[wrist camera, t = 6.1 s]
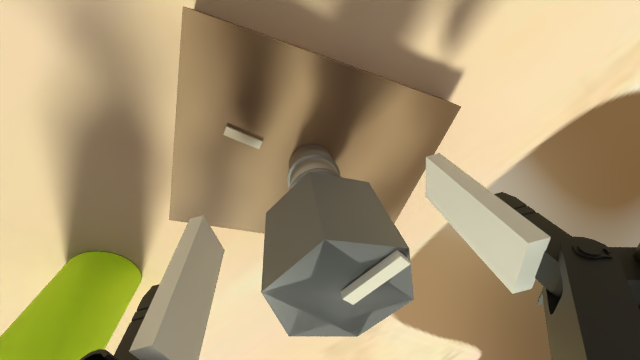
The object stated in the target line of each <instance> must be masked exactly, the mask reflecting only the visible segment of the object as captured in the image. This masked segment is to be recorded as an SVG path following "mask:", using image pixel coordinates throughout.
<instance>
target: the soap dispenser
mask: <svg viewBox="0 0 640 360" xmlns="http://www.w3.org/2000/svg"><path fill="white" fill-rule="evenodd" d="M140 282H141V273H140V271H139V269H138V268H137V267H136V266H135V265H134V264H133V263H132V262H131V261H129V260H128V259H126V258H124V257H122V256H119V255H116V254H113V253H108V252H99V251H93V252H85V253H81V254H78V255H76V256H74V257H73V258H71V259H70V260H69V261H68V262H67V263H66V265H65V266H64V267H63V268H62V269H61V270H60V271H59V272H58V273H57V275H56V276H55V277H54V278H53V279H52V280H51V281H50V282H49V283H48V285H47V286H46V287H45V288H44V289H43V290H42V291H41V292H40V293H39V295H38V296H37V297H36V298H35V299H34V300H33V301H32V302H31V303H30V305H29V306H28V307H27V308H26V309H25V310H24V311H23V312H22V313H21V315H20V316H19V317H18V318H17V319H16V320H15V321H14V322H13V323H12V324H11V326H10V327H9V328H8V329H7V330H6V331H5V332H4V333H3V334H2V336H1V337H0V360H80V359H81V358H82V357H84V356H85V355H87V354H88V353H90V352H92V351H95V350H98V349H103V350H104V349H105V347H106V345H107V343H108V342H109V340H110V338H111V336H112V334H113V332H114V331H115V329H116V327H117V325H118V323H119V321H120V319H121V318H122V316H123V314H124V312H125V310H126V308H127V306H128V305H129V303H130V301H131V299H132V297H133V295H134V294H135V292H136V290H137V288H138V286H139V284H140Z"/></svg>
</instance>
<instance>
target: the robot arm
mask: <svg viewBox="0 0 640 360" xmlns="http://www.w3.org/2000/svg"><path fill="white" fill-rule="evenodd" d="M426 198H427V199H428V200H429V201H430V202H431V203H432V204H433V205H434V207H435V208H436V209H437V210H438V211H439V212H440V213H441V214H442V216H443V217H444V218H445V219H446V220H447V221H448V222H449V223H450V224H451V226H452V227H453V228H454V229H455V230H456V231H457V232H458V233H459V234H460V235H461V237H462V238H463V239H464V240H465V241H466V242H467V243H468V244H469V246H470V247H471V248H472V249H473V250H474V251H475V252H476V253H477V255H478V256H479V257H480V258H481V259H482V260H483V261H484V262H485V263H486V265H488V267H489V268H490V269H491V270H492V271H493V272H494V273H495V275H496V276H497V277H498V278H499V279H500V280H501V281H502V282H503V284H504V285H505V286H506V287H507V288H508V289H509V290H510V291H511V292H512V293H517V292H521V291H524V290H528V289H531V288H532V287H533V284H534V281H535V278H536V279H537V280H538V281H539V282H540V283H541V284H542V285H543V286H544V287H543V289H542V292H541V294H540V296H539V299H538V305H541V304H542V302H544V309H545V317H546V324H547V332H548V339H549V346H550V353H551V360H640V244H639V245H638V247H637V248H636V247H635V248H634V247H632V248H630V247H607V246H606V245H604V244H602V243H600V242H597V241H595V240H592V239H588V238H584V237H572V236H570V235H569V234H567V233H566V232H565V231H563V230H562V229H560V228H559V227H557V226H556V225H554V224H553V223H552V222H550V221H549V220H547V219H546V218H544V217H543V216H541V215H540V214H539V213H536V212H535V211H534V210H533V209H532V208H530V207H529V206H528V207H527V206H526V204H524V203H523V202H521V201H520V200H519V199H517V198H516V197H513V196H511V195H508V194H506V193H503V192H501V193H497V194H493V193H492V192H490V191H489V190H488V189H486V188H485V187H484V186H482V185H481V184H480V183H478V182H477V181H476V180H474V179H473V178H472V177H470V176H469V175H468V174H466V173H465V172H464V171H462V170H461V169H460V168H458V167H457V166H456V165H454V164H453V163H452V162H450V161H449V160H448V159H446V158H445V157H444V156H443V155H441V154H440V153H438V154H434V155H431V156H427V157H426ZM223 254H224V249H223V247H222V245H221V244H220V242H219V240H218V239H217V237H216V235H215V233H214V232H213V230H212V228H211V227H210V225H209V223H208V222H207V220H206V218H205V217H204V215H203V216H199V217H195V218H191V219H190V220H189V222H188V224H187V226H186V228H185V230H184V233H183V235H182V237H181V239H180V241H179V244H178V246H177V248H176V250H175V252H174V254H173V257H172V259H171V261H170V263H169V265H168V267H167V270H166V272H165V274H164V276H163V278H162V280H161V283H160V284H159V285H155V286H152V287H151V289H150V290H149V291H148V292H147V293H146V295H145V296H144V297H143V298H142V300H141V302H140V304H139V306H138V308H137V312H135V314H134V316H133V318H132V322H131V323H130V324H129V326H128V328H127V330H126V332H125V334H124V336H123V338H122V340H121V342H120V344H119V346H118V348H117V350H116V352H115V354H114V356H113V355H112V354H110V353H109V352H108V351H106V350H103V349H98V350H95V351H92V352H90V353H88V354H87V355H85V356H84V357H82V358H81V359H80V360H198V359H199V355H200V351H201V347H202V342H203V338H204V334H205V330H206V326H207V321H208V317H209V313H210V309H211V304H212V300H213V296H214V292H215V288H216V283H217V279H218V275H219V271H220V267H221V262H222V258H223Z"/></svg>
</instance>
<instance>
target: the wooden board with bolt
mask: <svg viewBox="0 0 640 360" xmlns="http://www.w3.org/2000/svg"><path fill="white" fill-rule="evenodd" d="M460 108H461V106H459V105H456V104H454V103H451V102H449V101H446V100H444V99H441V98H438V97H436V96H433V95H430V94H427V93H424V92H422V91H419V90H416V89H413V88H411V87H408V86H405V85H402V84H399V83H397V82H394V81H391V80H388V79H386V78H383V77H380V76H377V75H374V74H372V73H369V72H366V71H363V70H361V69H358V68H355V67H352V66H349V65H347V64H344V63H341V62H338V61H336V60H333V59H330V58H327V57H325V56H322V55H319V54H316V53H313V52H311V51H308V50H305V49H302V48H300V47H297V46H294V45H291V44H288V43H286V42H283V41H280V40H277V39H275V38H272V37H269V36H266V35H263V34H261V33H258V32H255V31H252V30H250V29H247V28H244V27H241V26H238V25H236V24H233V23H230V22H227V21H225V20H222V19H219V18H216V17H214V16H211V15H208V14H205V13H202V12H200V11H197V10H194V9H190V8H186V7H183V13H182V29H181V44H180V60H179V75H178V91H177V106H176V122H175V138H174V153H173V169H172V184H171V200H170V215H169V220H174V221H181V222H189V220H190V219H191V218H195V217H199V216H203V215H204V217H205V218H206V220H207V222H208V223H209V225H210V226H216V227H223V228H230V229H237V230H244V231H251V232H258V233H265V222H266V212H267V211H268V210H269V209H270V208H271V207H272V206H274V205H275V204H276V203H277V202H278V201H279V200H280V199H281V198H282V197H283V196H284V195H285V194H286V193H287V192H288V191H289V190H290V189H291V188H292V187H293V186H294V185H295V184H297V183H298V182H299V181H300V180H301V179H302V178H303V177H304V176H305V175H306V174H307V173H308V172H314V173H320V174H326V175H331V176H337V177H343V178H348V179H354V180H360V181H365V182H369V183H370V185H371V187H372V188H373V190H374V192H375V193H376V195H377V197H378V198H379V200H380V202H381V203H382V205H383V206H384V208H385V210H386V211H387V213H388V215H389V216H390V218H391V220H392V221H393V223H395V221H396V219H397V218H398V216H399V214H400V212H401V211H402V209H403V207H404V205H405V204H406V202H407V200H408V198H409V197H410V195H411V193H412V191H413V190H414V188H415V186H416V185H417V183H418V181H419V179H420V178H421V176H422V174H423V172H424V171H425V169H426V157H427V156H431V155H434V153H435V151H436V150H437V148H438V146H439V145H440V143H441V141H442V139H443V138H444V136H445V134H446V132H447V131H448V129H449V127H450V125H451V124H452V122H453V120H454V118H455V117H456V115H457V113H458V111H459V110H460Z"/></svg>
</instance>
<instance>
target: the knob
mask: <svg viewBox="0 0 640 360" xmlns="http://www.w3.org/2000/svg"><path fill="white" fill-rule="evenodd" d="M410 265H411V264H410V254H409V248H408V246H407V244H406V243H405V241H404V239H403V238H402V236H401V234H400V233H399V231H398V229H397V228H396V226H395V225H394V223H393V221H392V220H391V218H390V216H389V215H388V213H387V211H386V210H385V208H384V206H383V205H382V203H381V202H380V200H379V198H378V197H377V195H376V193H375V192H374V190H373V188H372V187H371V185H370V183H369V182H365V181H360V180H354V179H348V178H343V177H337V176H331V175H326V174H320V173H314V172H308V173H307V174H306V175H305V176H304V177H303V178H302V179H301V180H300V181H299V182H298V183H297V184H295V185H294V186H293V187H292V188H291V189H290V190H289V191H288V192H287V193H286V194H285V195H284V196H283V197H282V198H281V199H280V200H279V201H278V202H277V203H276V204H275V205H274V206H272V207H271V208H270V209H269V210H268V211H267V212H266V222H265V239H264V256H263V274H262V291H261V292H262V294H263V296H264V297H265V299H266V300H267V302H268V304H269V305H270V307H271V308H272V310H273V312H274V313H275V315H276V316H277V318H278V320H279V321H280V323H281V324H282V326H283V328H284V329H285V331H286V332H287V334H288V336H359V335H361V334H362V333H364V332H365V331H367V330H368V329H370V328H371V327H373V326H374V325H376V324H377V323H379V322H380V321H382V320H383V319H385V318H386V317H388V316H389V315H391V314H392V313H394V312H395V311H397V310H398V309H400V308H401V307H403V306H404V305H406V304H407V303H409V302H410V301H412V300H413V299H414V296H413V286H412V275H411V266H410Z"/></svg>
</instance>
